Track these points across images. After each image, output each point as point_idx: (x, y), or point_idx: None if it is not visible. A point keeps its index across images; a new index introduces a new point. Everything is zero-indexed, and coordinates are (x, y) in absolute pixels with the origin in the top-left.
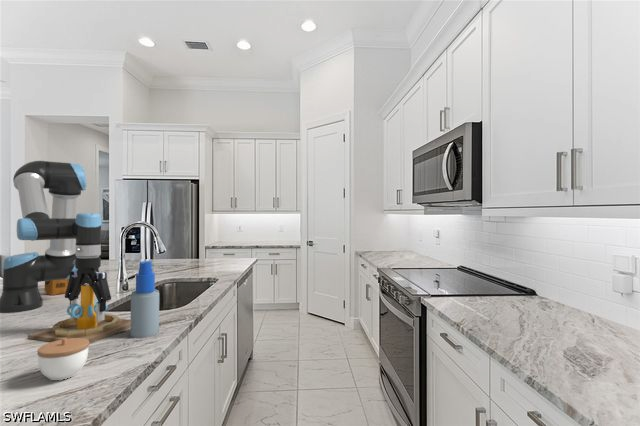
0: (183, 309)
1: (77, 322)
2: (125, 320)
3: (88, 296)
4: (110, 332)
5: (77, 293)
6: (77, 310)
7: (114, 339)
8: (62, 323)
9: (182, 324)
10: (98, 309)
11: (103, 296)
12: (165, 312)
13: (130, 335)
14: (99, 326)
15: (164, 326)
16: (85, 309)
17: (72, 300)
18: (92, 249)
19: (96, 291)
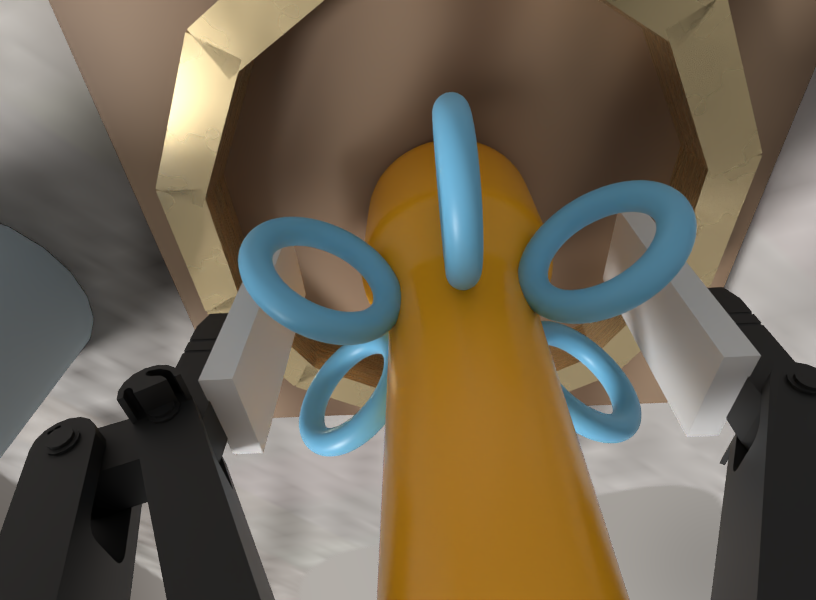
0: (271, 576)
1: (492, 169)
2: None
3: (394, 457)
4: (135, 191)
5: (736, 503)
6: (634, 311)
7: (3, 117)
8: (694, 139)
9: (5, 454)
10: (230, 320)
11: (46, 492)
12: (309, 539)
13: (5, 227)
14: (183, 174)
15: (49, 410)
16: (421, 286)
17: (745, 373)
18: None
19: (172, 577)
